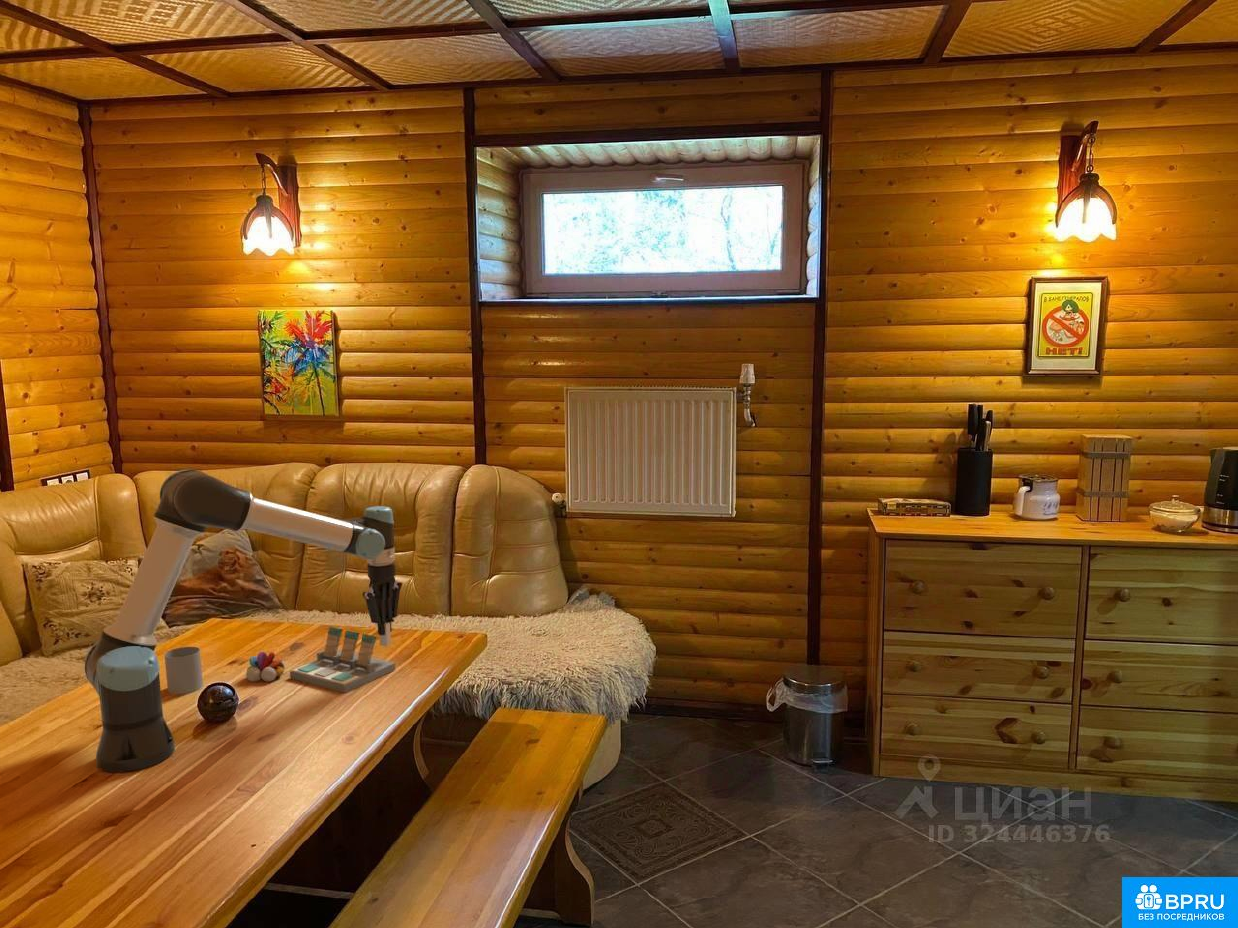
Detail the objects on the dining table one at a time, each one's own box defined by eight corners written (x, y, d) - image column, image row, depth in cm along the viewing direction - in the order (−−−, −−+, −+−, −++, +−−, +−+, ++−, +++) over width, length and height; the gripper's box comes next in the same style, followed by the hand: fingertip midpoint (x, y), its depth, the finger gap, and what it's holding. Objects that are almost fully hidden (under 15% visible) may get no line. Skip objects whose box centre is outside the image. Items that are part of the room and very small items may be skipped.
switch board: (345, 692, 226) (344, 677, 225) (290, 678, 237) (289, 663, 236) (395, 669, 241) (394, 655, 241) (341, 656, 252) (340, 642, 251)
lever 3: (366, 669, 234) (373, 636, 236) (354, 666, 237) (362, 633, 238) (369, 669, 236) (377, 636, 237) (358, 666, 238) (365, 634, 239)
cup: (209, 682, 234) (206, 646, 233) (191, 694, 226) (188, 658, 225) (179, 681, 235) (176, 646, 234) (160, 694, 227) (157, 657, 226)
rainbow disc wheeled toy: (277, 683, 233) (275, 657, 232) (241, 683, 233) (239, 657, 232) (289, 671, 242) (288, 646, 241) (255, 671, 242) (253, 646, 241)
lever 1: (332, 661, 241) (339, 628, 243) (321, 658, 243) (328, 626, 245) (335, 661, 242) (343, 629, 244) (324, 658, 244) (332, 626, 246)
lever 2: (348, 665, 238) (356, 632, 239) (337, 662, 240) (345, 630, 242) (352, 665, 239) (360, 632, 241) (341, 662, 241) (348, 630, 243)
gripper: (373, 569, 232) (378, 654, 236) (408, 558, 244) (412, 640, 247) (353, 566, 236) (358, 649, 240) (388, 555, 247) (392, 635, 251)
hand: (385, 644), depth 243 cm, fingers closed
